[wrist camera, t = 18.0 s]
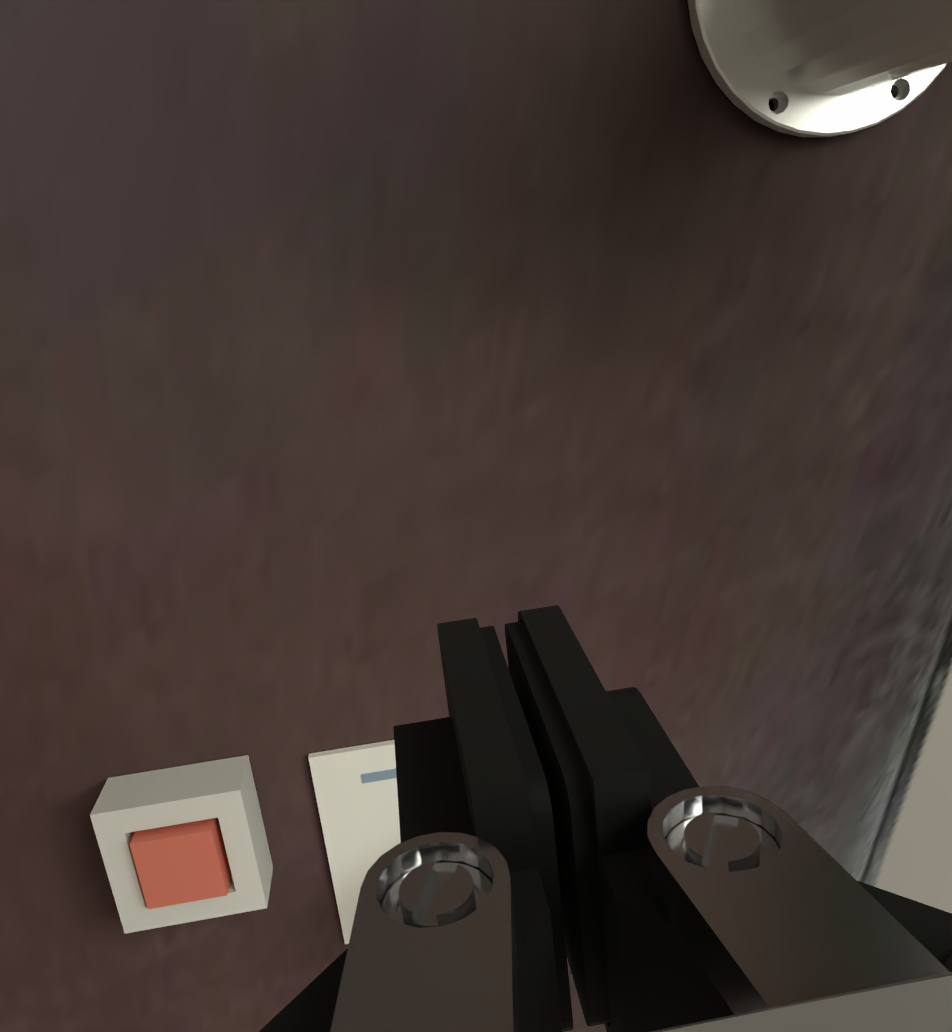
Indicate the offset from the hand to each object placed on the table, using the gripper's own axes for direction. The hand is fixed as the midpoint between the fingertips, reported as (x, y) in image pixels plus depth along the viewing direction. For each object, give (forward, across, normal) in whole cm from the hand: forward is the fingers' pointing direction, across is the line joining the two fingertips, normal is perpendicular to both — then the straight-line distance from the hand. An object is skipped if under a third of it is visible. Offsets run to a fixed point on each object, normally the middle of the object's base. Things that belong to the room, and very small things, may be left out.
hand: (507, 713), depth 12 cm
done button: (+29, +14, +21) cm, 38 cm away
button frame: (+29, +14, +21) cm, 39 cm away
